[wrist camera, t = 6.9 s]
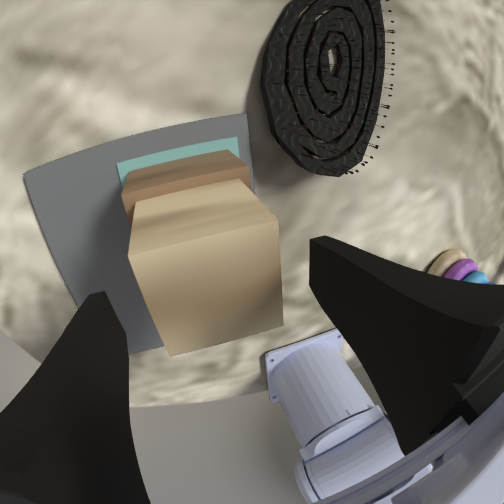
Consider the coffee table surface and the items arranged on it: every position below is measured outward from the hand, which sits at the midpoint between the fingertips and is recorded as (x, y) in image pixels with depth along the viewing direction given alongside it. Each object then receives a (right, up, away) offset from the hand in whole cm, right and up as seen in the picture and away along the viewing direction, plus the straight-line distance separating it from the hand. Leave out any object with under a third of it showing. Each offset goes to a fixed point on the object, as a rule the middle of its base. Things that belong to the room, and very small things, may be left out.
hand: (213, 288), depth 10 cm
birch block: (-1, +2, +3) cm, 4 cm away
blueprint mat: (-5, +1, +8) cm, 9 cm away
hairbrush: (+7, +18, +3) cm, 19 cm away
